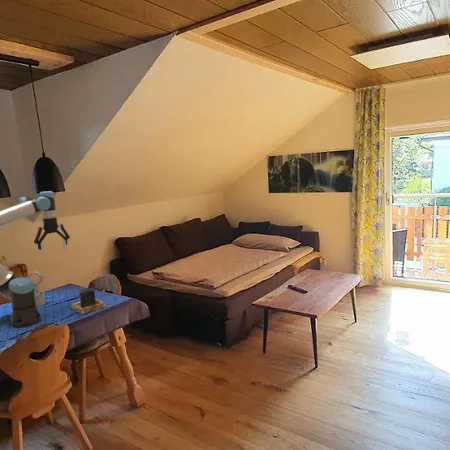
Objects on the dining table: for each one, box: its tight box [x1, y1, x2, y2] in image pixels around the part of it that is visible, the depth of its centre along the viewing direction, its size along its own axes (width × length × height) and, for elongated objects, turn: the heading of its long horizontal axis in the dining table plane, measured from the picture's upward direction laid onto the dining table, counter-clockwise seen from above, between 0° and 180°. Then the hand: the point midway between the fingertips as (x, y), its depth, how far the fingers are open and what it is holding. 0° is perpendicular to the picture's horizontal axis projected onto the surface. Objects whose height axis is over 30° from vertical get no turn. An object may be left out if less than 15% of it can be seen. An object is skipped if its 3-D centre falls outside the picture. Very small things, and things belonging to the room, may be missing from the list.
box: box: [78, 287, 96, 308], centre depth 233 cm, size 8×6×11 cm
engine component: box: [26, 271, 47, 308], centre depth 245 cm, size 11×20×10 cm
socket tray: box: [71, 297, 106, 315], centre depth 234 cm, size 14×14×3 cm
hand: (53, 252), depth 241 cm, fingers open, 13 cm apart
